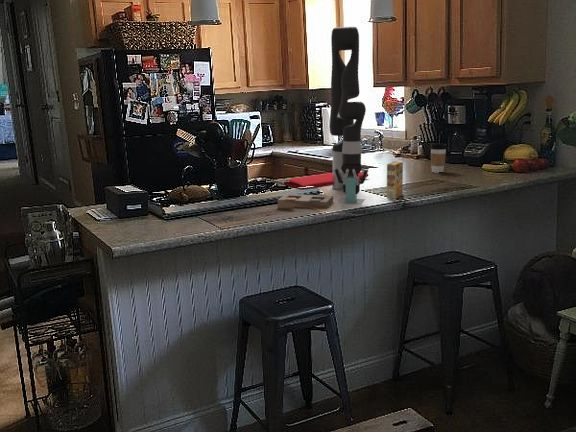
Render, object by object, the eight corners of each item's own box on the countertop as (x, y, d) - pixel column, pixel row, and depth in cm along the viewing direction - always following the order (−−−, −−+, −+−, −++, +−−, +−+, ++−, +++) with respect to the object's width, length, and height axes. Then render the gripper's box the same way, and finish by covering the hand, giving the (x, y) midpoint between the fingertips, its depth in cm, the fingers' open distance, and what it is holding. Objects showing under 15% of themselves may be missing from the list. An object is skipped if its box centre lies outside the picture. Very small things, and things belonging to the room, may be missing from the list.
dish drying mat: (283, 185, 305) (283, 177, 304) (348, 175, 328) (348, 168, 327) (302, 190, 292) (302, 182, 292) (369, 180, 316) (369, 172, 315)
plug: (347, 199, 264) (347, 174, 262) (356, 200, 263) (357, 174, 261) (345, 201, 260) (345, 175, 258) (355, 202, 259) (355, 176, 257)
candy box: (395, 200, 266) (396, 164, 262) (385, 200, 268) (386, 163, 264) (402, 197, 273) (403, 161, 270) (393, 196, 276) (394, 160, 272)
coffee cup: (426, 171, 335) (427, 142, 331) (440, 170, 337) (441, 142, 334) (434, 173, 327) (435, 144, 324) (448, 172, 330) (450, 144, 326)
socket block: (286, 201, 267) (286, 192, 266) (332, 204, 261) (333, 195, 260) (277, 208, 255) (277, 198, 254) (326, 210, 250) (326, 201, 249)
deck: (341, 200, 268) (341, 198, 268) (365, 201, 265) (365, 199, 265) (336, 205, 259) (336, 203, 258) (361, 206, 256) (361, 204, 256)
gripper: (370, 151, 259) (369, 192, 263) (336, 150, 262) (336, 191, 266) (367, 153, 252) (367, 196, 256) (332, 152, 255) (332, 194, 259)
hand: (351, 193), depth 261 cm, fingers closed on plug, 4 cm apart
